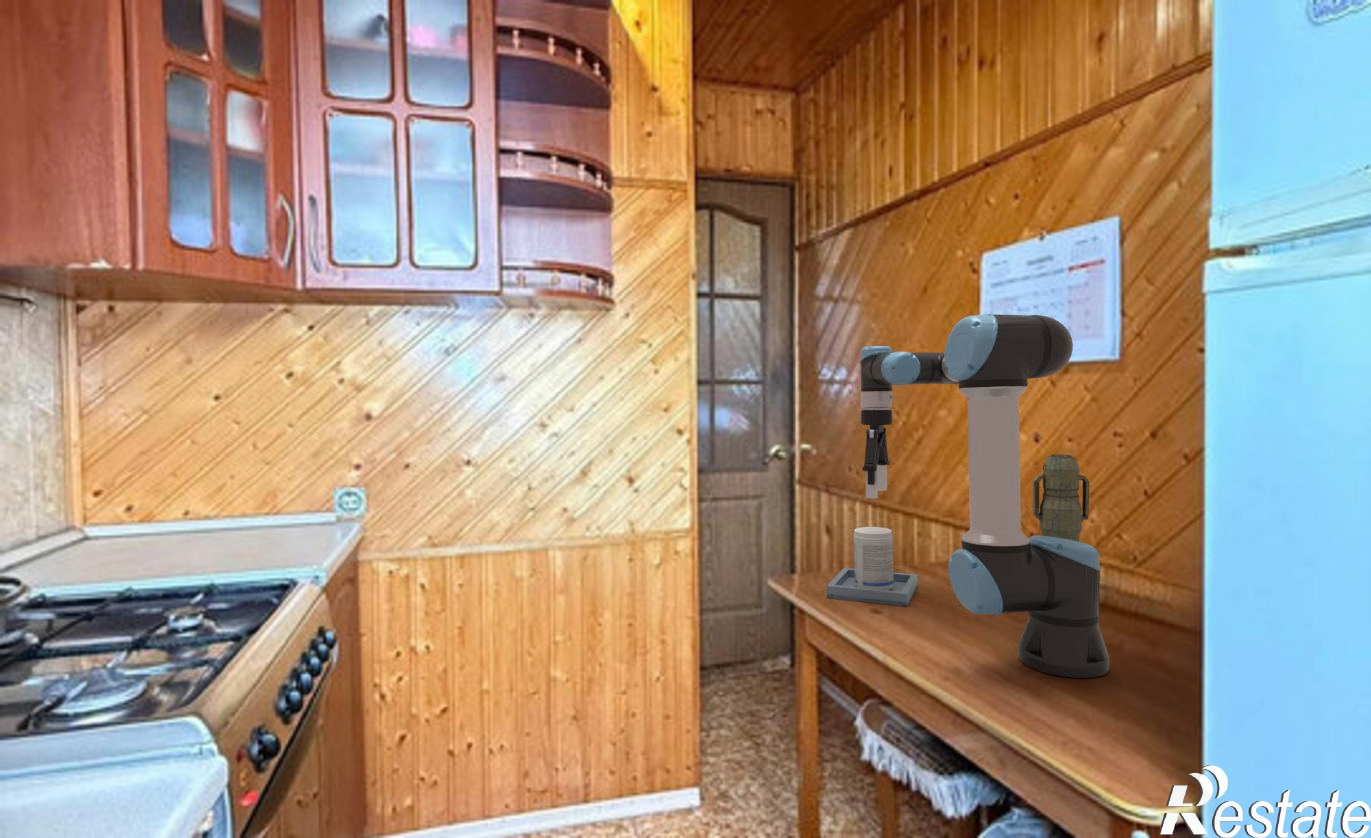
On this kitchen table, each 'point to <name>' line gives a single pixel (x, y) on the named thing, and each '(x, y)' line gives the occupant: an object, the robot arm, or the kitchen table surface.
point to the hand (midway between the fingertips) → (876, 494)
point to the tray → (897, 595)
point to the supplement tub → (873, 558)
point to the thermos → (1061, 498)
